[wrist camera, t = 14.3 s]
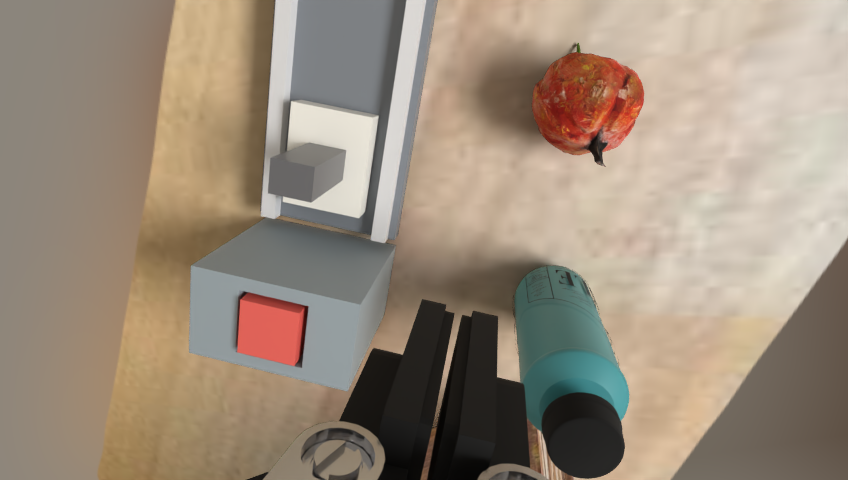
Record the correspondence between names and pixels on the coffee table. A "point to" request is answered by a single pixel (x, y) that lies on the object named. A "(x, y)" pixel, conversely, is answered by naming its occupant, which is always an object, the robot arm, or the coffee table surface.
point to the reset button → (272, 328)
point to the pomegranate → (587, 104)
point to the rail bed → (351, 92)
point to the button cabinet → (294, 296)
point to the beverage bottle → (569, 373)
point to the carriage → (326, 159)
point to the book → (536, 452)
